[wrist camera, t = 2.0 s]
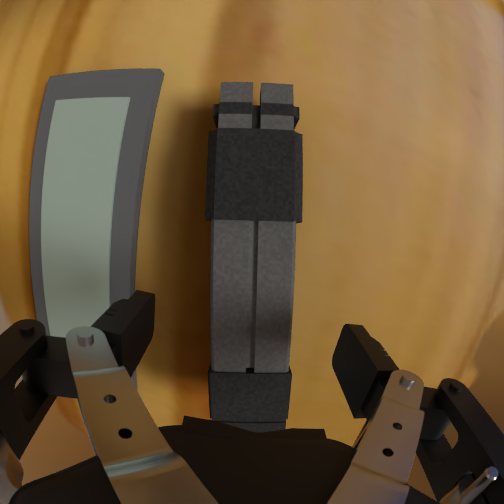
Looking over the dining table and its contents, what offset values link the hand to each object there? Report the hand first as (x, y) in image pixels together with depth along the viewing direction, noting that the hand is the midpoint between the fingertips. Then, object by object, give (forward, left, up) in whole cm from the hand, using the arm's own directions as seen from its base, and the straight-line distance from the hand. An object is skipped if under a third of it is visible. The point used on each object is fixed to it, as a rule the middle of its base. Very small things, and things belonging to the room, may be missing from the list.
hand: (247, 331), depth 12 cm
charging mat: (+1, -12, -7) cm, 14 cm away
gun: (0, 0, -8) cm, 8 cm away
